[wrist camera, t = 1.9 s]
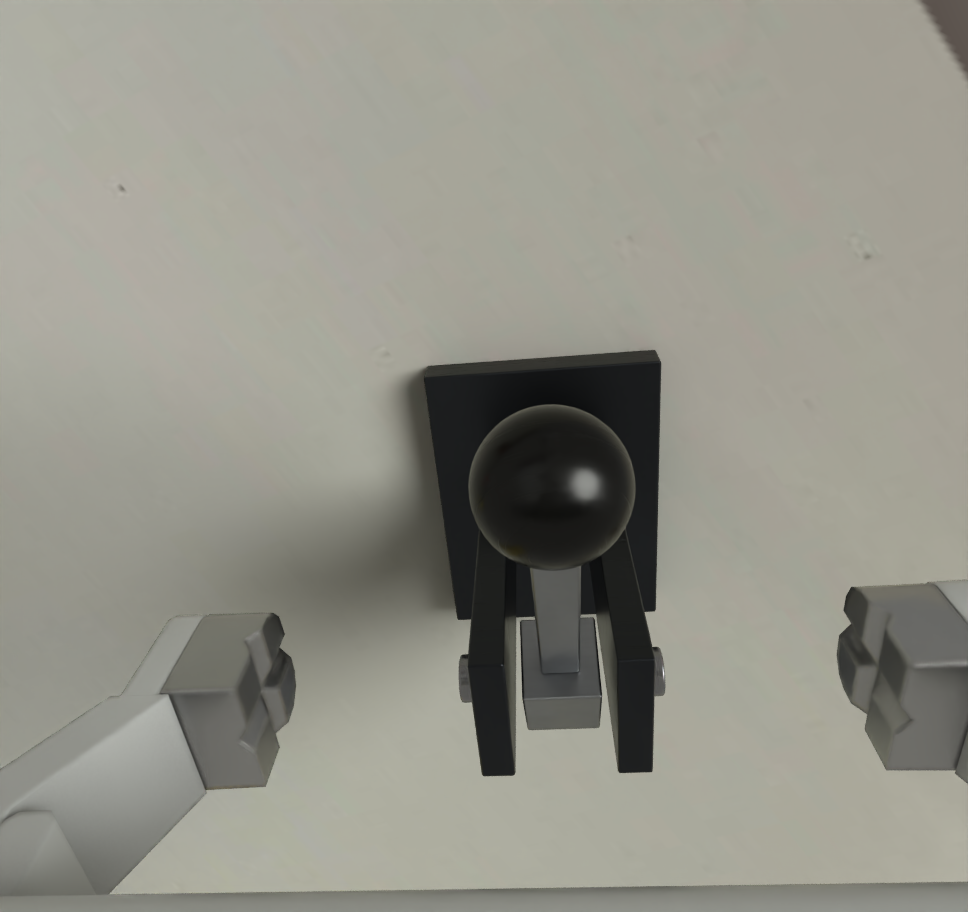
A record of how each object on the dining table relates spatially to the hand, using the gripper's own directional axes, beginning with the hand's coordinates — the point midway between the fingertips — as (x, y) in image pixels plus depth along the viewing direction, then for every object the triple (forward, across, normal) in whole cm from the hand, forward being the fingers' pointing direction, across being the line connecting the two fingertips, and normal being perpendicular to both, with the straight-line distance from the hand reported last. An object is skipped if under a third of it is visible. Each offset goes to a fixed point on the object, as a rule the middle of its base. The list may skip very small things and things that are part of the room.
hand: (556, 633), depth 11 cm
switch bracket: (+19, 0, +9) cm, 21 cm away
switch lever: (+8, 0, +4) cm, 8 cm away
